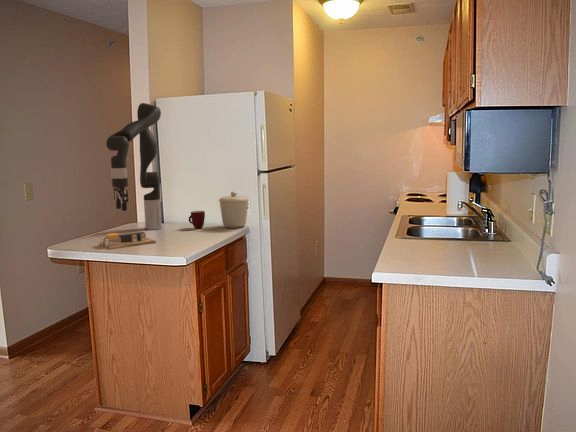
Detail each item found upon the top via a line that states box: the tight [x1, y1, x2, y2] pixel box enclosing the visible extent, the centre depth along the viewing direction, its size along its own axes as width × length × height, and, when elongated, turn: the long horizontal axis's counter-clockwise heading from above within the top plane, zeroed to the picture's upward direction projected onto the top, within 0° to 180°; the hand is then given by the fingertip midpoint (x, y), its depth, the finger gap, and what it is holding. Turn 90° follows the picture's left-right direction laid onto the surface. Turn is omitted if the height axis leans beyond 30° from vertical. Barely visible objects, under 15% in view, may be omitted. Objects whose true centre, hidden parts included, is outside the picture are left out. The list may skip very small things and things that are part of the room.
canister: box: [218, 191, 250, 229], centre depth 298 cm, size 18×18×21 cm
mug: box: [188, 210, 206, 230], centre depth 295 cm, size 10×8×10 cm
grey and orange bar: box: [106, 231, 146, 243], centre depth 253 cm, size 18×5×5 cm, turn 127°
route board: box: [99, 231, 157, 250], centre depth 253 cm, size 16×23×4 cm
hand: (121, 209), depth 250 cm, fingers open, 8 cm apart
